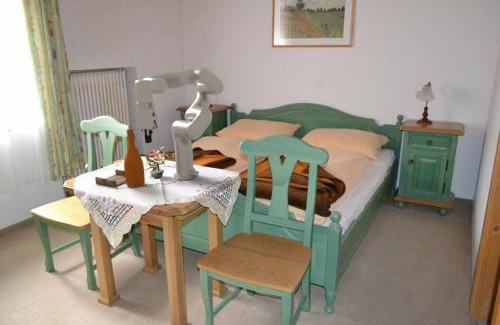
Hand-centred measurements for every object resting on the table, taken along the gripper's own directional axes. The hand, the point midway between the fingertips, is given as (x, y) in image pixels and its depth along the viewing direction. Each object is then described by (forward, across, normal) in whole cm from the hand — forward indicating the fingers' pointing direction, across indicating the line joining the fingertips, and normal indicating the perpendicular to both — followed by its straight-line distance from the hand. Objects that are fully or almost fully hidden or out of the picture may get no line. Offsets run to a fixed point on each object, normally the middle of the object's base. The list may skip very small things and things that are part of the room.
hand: (148, 142), depth 192 cm
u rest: (+24, +26, 0) cm, 35 cm away
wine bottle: (+24, +12, 0) cm, 27 cm away
